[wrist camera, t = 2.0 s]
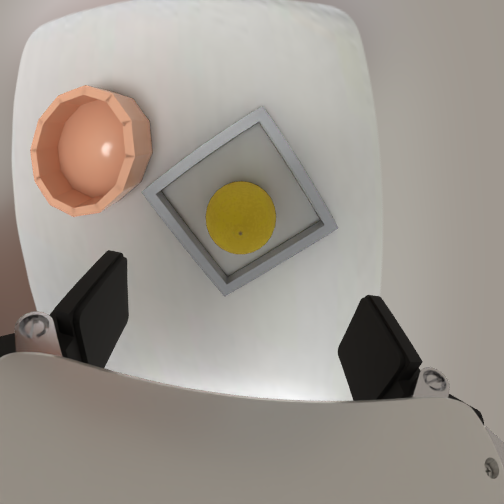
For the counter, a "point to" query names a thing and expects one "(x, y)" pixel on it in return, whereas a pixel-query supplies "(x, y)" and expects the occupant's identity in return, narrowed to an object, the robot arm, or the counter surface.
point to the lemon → (240, 217)
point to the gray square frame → (272, 257)
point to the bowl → (90, 150)
